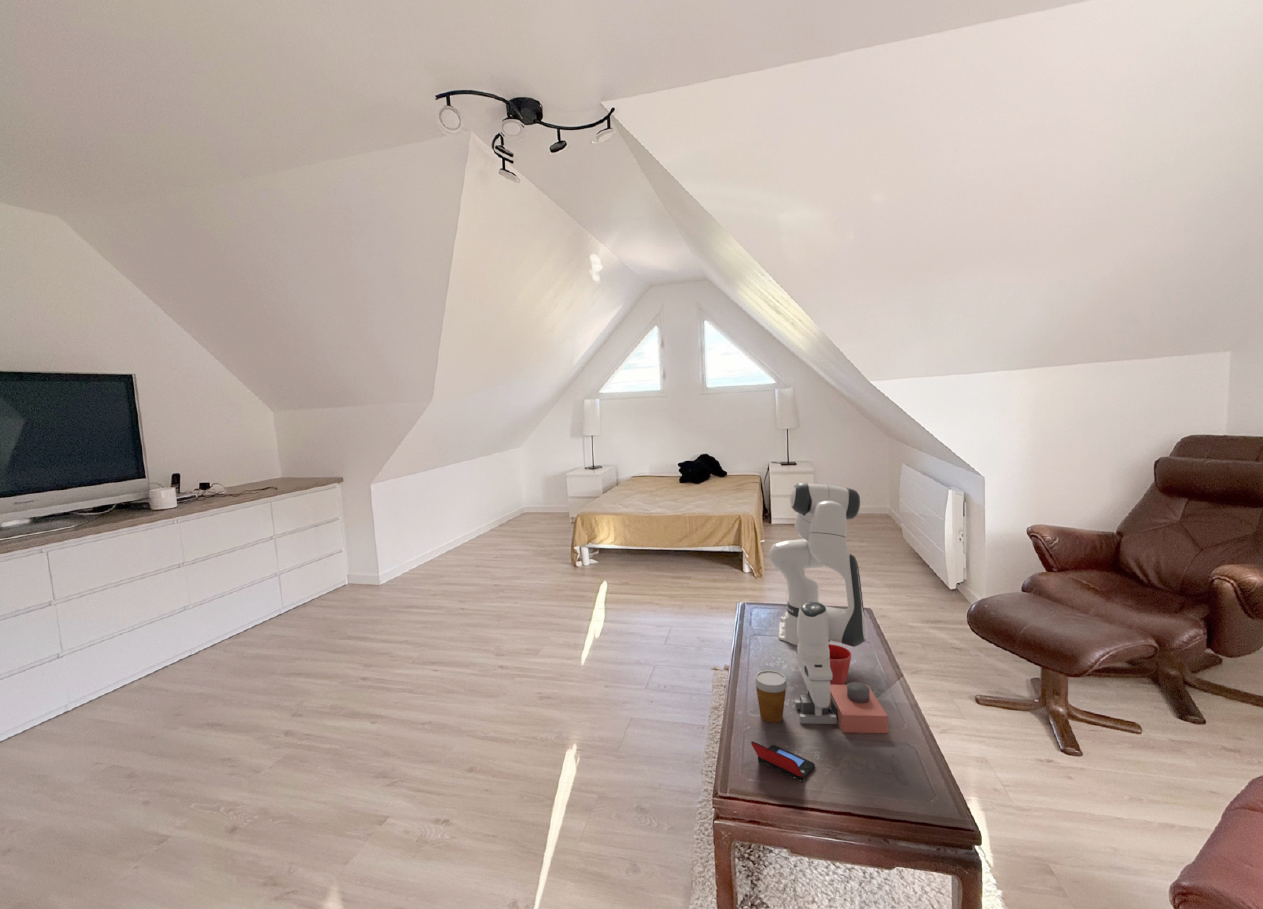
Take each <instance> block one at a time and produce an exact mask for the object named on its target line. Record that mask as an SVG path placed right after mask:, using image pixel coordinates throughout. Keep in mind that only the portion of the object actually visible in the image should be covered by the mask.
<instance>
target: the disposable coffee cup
mask: <svg viewBox="0 0 1263 909" xmlns="http://www.w3.org/2000/svg"><path fill="white" fill-rule="evenodd" d="M753 682H754V684H755V689H756V694H757V702H758V708H759V715H760V718H761V719H762V720H763V721H765V722H768V723H771V724H773V723H779V722H781V721H783V716H784V708H785V699H786V692H787V688H788V685H789V682H788V680H787V678H786V676H785V675H784V674H783V673H781V672H779V671H775V670H769V669H768V670H767V669H765V670H761V671H759V672H756V675H755V677H754V679H753Z"/></svg>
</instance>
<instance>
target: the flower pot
mask: <svg viewBox="0 0 1263 909" xmlns="http://www.w3.org/2000/svg"><path fill="white" fill-rule="evenodd" d="M828 647H829V650H830V667H831V671H832V680H830V685H846V682H847V678H848V675H849V670H850V665H851V660H852V652H851V651H850V650H849V649H848V648H846V647H843V646H841V645H837V644H829V643H828Z"/></svg>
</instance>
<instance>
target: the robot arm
mask: <svg viewBox="0 0 1263 909" xmlns="http://www.w3.org/2000/svg"><path fill="white" fill-rule="evenodd" d="M789 497H790V498H789V501H790V506H791V508H792V510H793V512H795V513H797V515H796V519H795V522H794V529H795V532H796V534H797V535H798V536H799V537H800V538H801V539H791V540H782V541H780V542H779V541H778V542H777V543H773V544H772V545H771V547H770V549H769V552H768V559H769V561H770V563H771V565H772V567H773V568H774V569H776V570H777V571H779V572H780V573H781V574H782V575H783V577H784V579H785V581H786V585H787V594H788V596H787V597H788V599H787V600H788V601H787V604H786V612H784V616H780V621H779V627H778V628H779V629H778V640H780V641H783V642H787V643H789V644H791V645H793V646H797V650H796V651H797V652H796V653H797V666H798V667H799V668H800V674H801V676H802V679H803V680H804V683H805V688H806V689H805V690H806V695H811V698H812V700H813V703H814V705H815V707H814V712H815V715H816V716H821V715H822V709H823V708H828V706H829V703H830V680H832V671H831V667H830V650H829V647H828V644H829V642H830V641H832V642H836V643H841V644H842V645H846V646H849V647H852V648H855V647H858V646H859V645H861V644H864V642H866V639H867V636H868V624H867V620H866V616H865V609H864V600H863V593H862V592H863V591H862V584H861V577H860V570H859V565H858V564H859V563H858V561H857V558H856V556H855V555H853V554H852V553H851V552H850V551H849V548H848V544H847V542H848V541H847V537H848V524H847V523H848V521H847V520H852V519H854V518H856V517H857V516H858V514H859V511H860V508H861V497H860V494H859V493H858V492H857V490H855V489H853V488H849V487H842V486H838V485H832V484H824V483H823V484H822V483H808V482H798V483H796V484H795V485H794V486H793V488H792V490H791V493H790V495H789ZM823 567H828V568H830V569H831V570H834V571H836V572H837V573H838V574H839V575H841V577H842V578H843V580H844V582H845V583H844V584H845V590H846V591H845V592H846V601H847V608H845V609H844V608H837V607H832V606H827V605H824V604H823V603H821V602H819V600H820V599H819V598H820V597H819V595H820V594H819V589H820V588H819V585H818V583H817V581H816V580H815V579H813V578H811V577H810V576H807V575H806V574H805V570H806V569H815V568H823Z"/></svg>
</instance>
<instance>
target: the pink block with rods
mask: <svg viewBox="0 0 1263 909" xmlns="http://www.w3.org/2000/svg"><path fill="white" fill-rule="evenodd" d="M794 708H795V710H800V699H798V700H797V699H796V700H794ZM828 710H831V713H832V714H828V715H821V716H816V715H813V714H801V713H800V714H799V722H800V724H807V725H808V724H814V725H815V724H817V725H818V724H820V725H837V724H838V725H839V728H840V729H841V732H842V733H854V734H855V733H861V734H863V733H864V734H888V733H889V724H888V723H889V718H888V717H889V716H888V714H887V712H886V711H885V709H884V708H883V706H882V705H881V702H879V700H878V698H877V697H876V695H875V694H874V692H873V691H872V689H871V687H870V686H869V685H868V684H864V683H862V682H859V681H858V682H857V681H856V682H855V681H853V682H849V683H847V684H843V685H830V703H829V706H828Z"/></svg>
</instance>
